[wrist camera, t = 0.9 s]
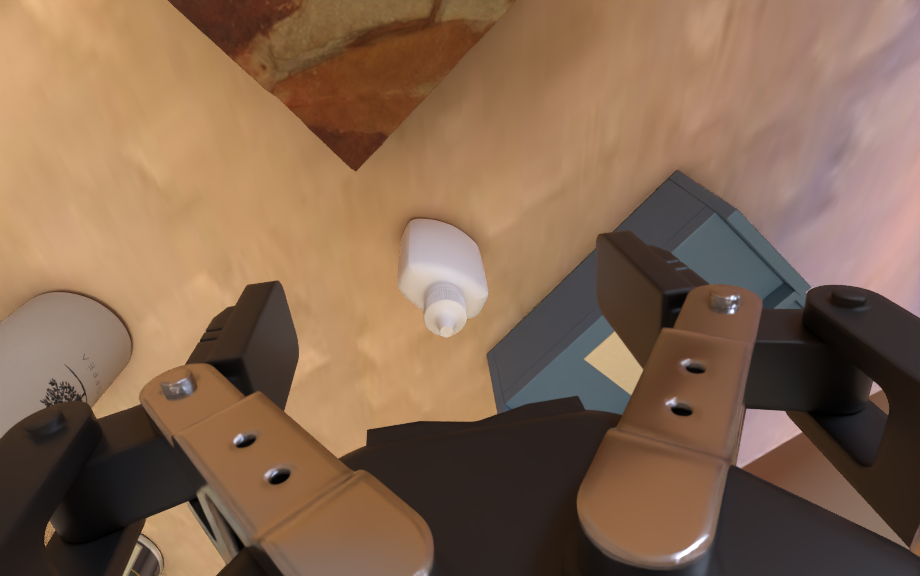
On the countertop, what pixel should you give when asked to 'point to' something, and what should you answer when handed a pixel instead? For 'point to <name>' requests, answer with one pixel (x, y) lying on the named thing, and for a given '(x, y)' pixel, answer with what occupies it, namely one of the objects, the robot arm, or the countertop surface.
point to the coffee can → (144, 559)
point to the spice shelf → (591, 336)
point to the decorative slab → (346, 57)
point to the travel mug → (58, 354)
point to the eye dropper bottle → (441, 274)
